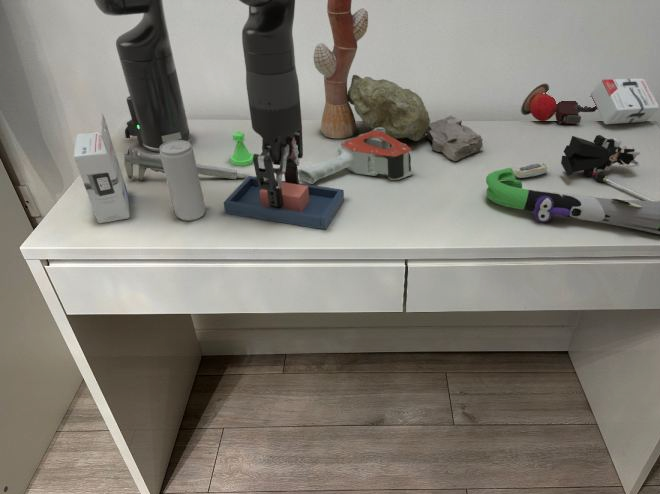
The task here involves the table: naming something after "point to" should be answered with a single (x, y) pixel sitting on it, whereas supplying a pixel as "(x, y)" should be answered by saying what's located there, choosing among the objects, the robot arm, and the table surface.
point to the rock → (389, 107)
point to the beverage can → (183, 179)
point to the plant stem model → (339, 66)
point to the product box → (102, 175)
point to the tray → (313, 215)
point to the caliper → (156, 165)
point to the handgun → (570, 112)
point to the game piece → (241, 151)
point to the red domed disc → (539, 103)
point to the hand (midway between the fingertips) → (284, 196)
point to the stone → (453, 138)
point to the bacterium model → (530, 170)
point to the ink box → (624, 100)
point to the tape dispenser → (365, 158)
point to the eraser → (289, 197)
